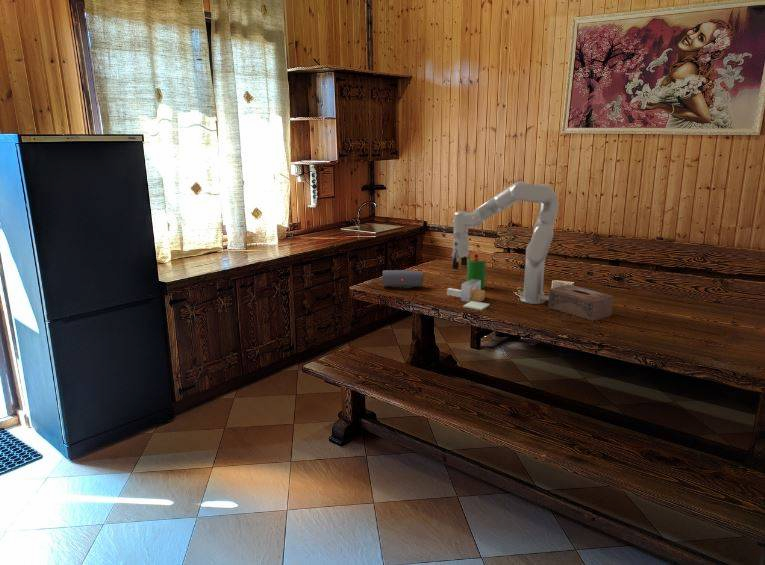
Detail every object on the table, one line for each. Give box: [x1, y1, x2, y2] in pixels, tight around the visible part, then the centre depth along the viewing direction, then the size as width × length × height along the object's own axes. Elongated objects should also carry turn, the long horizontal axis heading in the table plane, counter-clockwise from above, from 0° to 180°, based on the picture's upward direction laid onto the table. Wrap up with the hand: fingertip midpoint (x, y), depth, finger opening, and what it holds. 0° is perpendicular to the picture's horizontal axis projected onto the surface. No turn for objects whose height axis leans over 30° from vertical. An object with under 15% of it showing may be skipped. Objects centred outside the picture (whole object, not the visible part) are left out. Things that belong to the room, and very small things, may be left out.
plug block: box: [472, 289, 486, 303], centre depth 287 cm, size 5×5×5 cm
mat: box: [462, 300, 491, 311], centre depth 276 cm, size 10×10×1 cm
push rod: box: [446, 287, 461, 298], centre depth 293 cm, size 15×2×4 cm, turn 56°
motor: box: [466, 252, 487, 290], centre depth 309 cm, size 10×9×20 cm
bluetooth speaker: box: [381, 269, 424, 289], centre depth 310 cm, size 23×9×10 cm, turn 83°
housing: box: [460, 279, 482, 303], centre depth 289 cm, size 5×13×9 cm, turn 145°
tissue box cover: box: [547, 284, 614, 322], centre depth 267 cm, size 26×14×10 cm, turn 35°
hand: (459, 267), depth 290 cm, fingers open, 9 cm apart
